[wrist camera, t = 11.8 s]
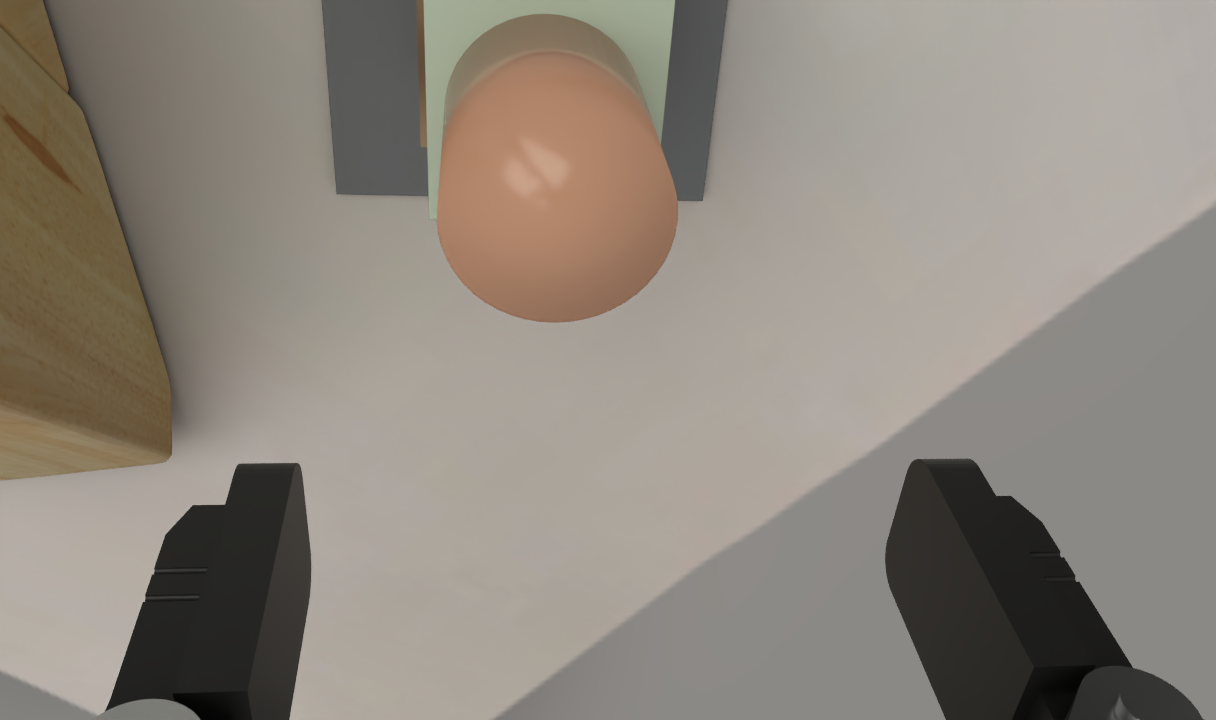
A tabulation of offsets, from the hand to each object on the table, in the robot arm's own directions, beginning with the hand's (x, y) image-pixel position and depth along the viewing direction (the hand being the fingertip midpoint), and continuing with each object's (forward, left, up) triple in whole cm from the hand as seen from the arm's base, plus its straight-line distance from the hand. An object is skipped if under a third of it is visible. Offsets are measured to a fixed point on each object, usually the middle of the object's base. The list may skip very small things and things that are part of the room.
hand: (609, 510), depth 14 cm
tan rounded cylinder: (+1, 0, -16) cm, 16 cm away
